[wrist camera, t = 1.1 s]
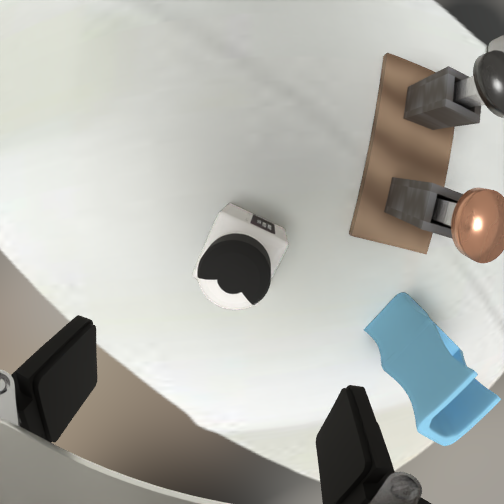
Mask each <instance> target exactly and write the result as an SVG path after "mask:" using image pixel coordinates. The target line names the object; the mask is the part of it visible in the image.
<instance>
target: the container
mask: <svg viewBox="0 0 504 504" xmlns="http://www.w3.org/2000/svg"><path fill="white" fill-rule="evenodd" d="M288 245H289V244H288V240H287V235H286V231H285V229H284V228H282V227H280V226H278V225H276V224H274V223H272V222H270V221H268V220H266V219H263V218H261V217H259V216H257V215H255V214H253V213H251V212H249V211H246V210H244V209H242V208H240V207H238V206H236V205H234V204H231V203H229V204H228V205H226V206H225V207H224V208H223V209H222V210H221V211H220V212H219V213H218V215H217V217H216V219H215V222H214V224H213V226H212V228H211V231H210V233H209V235H208V238H207V240H206V242H205V244H204V247H203V249H202V251H201V254H200V256H199V258H198V261H197V263H196V265H195V268H194V270H193V273H192V276H193V278H195V279H197V280H198V283H199V286H200V288H201V290H202V292H203V293H204V295H205V296H206V297H207V298H208V299H209V300H210V301H211V302H213V303H214V304H216V305H218V306H220V307H222V308H225V309H230V310H241V309H246V308H249V307H251V306H253V305H254V306H256V305H258V304H259V302H260V300H261V299H262V298H263V297H264V296H265V294H266V293H267V291H268V289H269V286H270V282H271V279H272V277H273V275H274V273H275V271H276V269H277V267H278V265H279V264H280V262H281V260H282V258H283V256H284V254H285V252H286V250H287V248H288Z"/></svg>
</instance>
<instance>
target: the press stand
mask: <svg viewBox="0 0 504 504" xmlns="http://www.w3.org/2000/svg"><path fill="white" fill-rule="evenodd" d="M466 78H469V77H468V76H466V75H464V74H463V73H461V72H459V71H457V70H455V69H453V68H451V67H449V66H448V67H446V68H444V69H442V70H440V71H438V72H434V71H431V70H429V69H427V68H425V67H422V66H420V65H418V64H415V63H413V62H410V61H408V60H405V59H403V58H400V57H398V56H395V55H392V54H389V53H386V54H385V55H384V56H383V64H382V72H381V79H380V85H379V92H378V98H377V104H376V110H375V116H374V122H373V127H372V133H371V138H370V143H369V148H368V153H367V158H366V163H365V168H364V172H363V177H362V182H361V186H360V190H359V195H358V199H357V203H356V207H355V211H354V215H353V220H352V223H351V227H350V231H349V234H350V235H351V236H354V237H359V238H363V239H367V240H371V241H375V242H379V243H384V244H388V245H392V246H396V247H400V248H404V249H408V250H412V251H416V252H420V253H423V254H427V251H428V247H429V244H430V240H431V237H432V233H436V234H439V235H443V236H446V237H449V238H452V233H451V226H449V225H447V224H444V223H442V222H439V221H437V220H434V219H431V218H432V214H433V210H434V206H435V202H436V198H438V199H442V200H446V201H449V202H453V203H457V202H458V200H459V199H460V198H461V196H462V195H463V194H461V193H458V192H456V191H453V190H450V189H448V188H445V187H444V184H445V179H446V174H447V169H448V164H449V159H450V153H451V147H452V140H453V134H454V127H455V126H462V125H469V124H476V123H480V112H481V106H476V107H472V108H467V109H466V108H464V107H462V106H460V105H458V104H456V103H454V102H453V93H454V83H456V82H458V81H461V80H464V79H466ZM452 239H453V238H452Z"/></svg>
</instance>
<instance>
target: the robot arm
mask: <svg viewBox="0 0 504 504" xmlns="http://www.w3.org/2000/svg"><path fill="white" fill-rule="evenodd" d="M96 383H97V358H96V326H95V325H93V322H92V320H90V319H87V318H85V317H82V316H79V315H78V316H76V317H75V318H74V319H73V320H72V321H70V322H69V323H68V324H67V325H66V326H65V327H63V328H62V329H61V330H60V331H59V332H58V333H57V334H56V335H55V336H53V337H52V338H51V339H50V340H49V341H48V342H46V343H45V344H44V345H43V346H42V347H41V348H40V349H39V350H38V351H36V352H35V353H34V354H33V355H32V356H31V357H30V358H29V359H28V360H27V361H26V362H25V363H24V364H23V365H21V367H19V368H18V369H17V370H16V371H15V372H14V373H13V374H12V375H10V374H9V373H7V372H6V371H3V370H0V504H229V503H224V502H219V501H214V500H209V499H204V498H200V497H195V496H191V495H187V494H183V493H179V492H176V491H172V490H168V489H165V488H162V487H158V486H155V485H152V484H149V483H146V482H143V481H140V480H137V479H134V478H131V477H128V476H125V475H122V474H120V473H117V472H115V471H112V470H110V469H107V468H104V467H102V466H100V465H97V464H95V463H93V462H90V461H88V460H86V459H84V458H82V457H79V456H77V455H75V454H73V453H71V452H69V451H66V450H64V449H62V448H60V447H58V446H56V445H54V444H52V443H51V442H56V441H57V440H58V439H59V437H60V436H61V434H62V433H63V431H64V430H65V428H66V427H67V426H68V424H69V423H70V421H71V420H72V418H73V417H74V415H75V414H76V413H77V411H78V410H79V408H80V407H81V405H82V404H83V403H84V401H85V400H86V399H87V397H88V396H89V394H90V393H91V391H92V390H93V389H94V387H95V386H96ZM316 448H317V456H318V464H319V473H320V482H321V491H322V500H323V504H431V503H429V502H428V501H426V500H424V499H423V498H421V494H422V487H421V485H420V483H419V481H418V480H417V479H416V478H415V477H414V476H412V475H411V474H408V473H405V472H396V473H395V472H394V469H393V465H392V462H391V459H390V456H389V453H388V450H387V447H386V444H385V442H384V439H383V436H382V433H381V430H380V427H379V425H378V423H377V422H376V419H375V416H374V413H373V410H372V407H371V405H370V402H369V399H368V396H367V394H366V391H365V389H364V387H360V386H353V385H349V386H348V387H347V388H343V389H342V390H341V392H340V394H339V396H338V398H337V400H336V402H335V404H334V405H333V407H332V409H331V411H330V413H329V415H328V417H327V418H326V420H325V422H324V424H323V426H322V427H321V429H320V431H319V433H318V434H317V437H316Z"/></svg>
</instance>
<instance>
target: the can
mask: <svg viewBox="0 0 504 504" xmlns="http://www.w3.org/2000/svg"><path fill="white" fill-rule="evenodd" d="M493 50H499V51H502V52H504V35H503V36H501V37H499V38H496V39H494V40H492V41H491V42H490V43H489V46H488V52H490V51H493Z"/></svg>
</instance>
